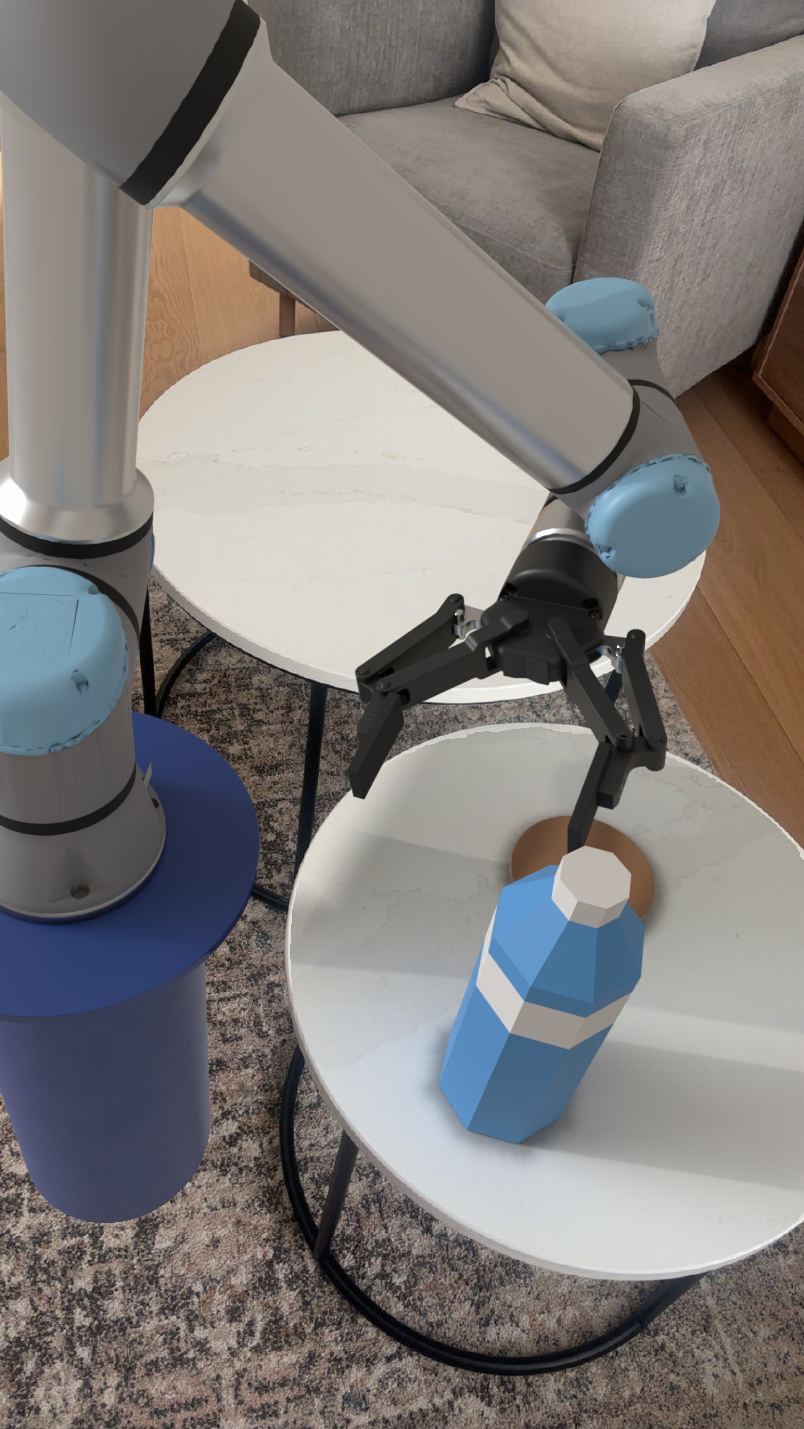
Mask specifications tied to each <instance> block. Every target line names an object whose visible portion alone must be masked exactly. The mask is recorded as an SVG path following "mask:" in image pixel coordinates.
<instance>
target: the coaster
mask: <svg viewBox="0 0 804 1429" xmlns="http://www.w3.org/2000/svg"><path fill="white" fill-rule="evenodd" d="M571 816H572V815H558V816H552V817H548V818H546V819H543V820H540V821H538V822H536V823H533V825H531V826H530V827H528V828H527V829H526V830H525V831H523V833H522V834H521V835H520V836H519V838H518V839H517V841H516V842H515V845H514V847H513V850H512V852H511V856H510V860H509V865H508V876H509V882H510V884H511V883H513V882H515V881H517V880H520V879H522V878H524V877H526V876H528V875H530V874H532V873H534V872H536V871H539V870H541V869H543V868H545V867H547V866H549V865H560V863H561V860H562V858H563V856H564V855H567V827H568V824H569V821H570V819H571ZM584 846H588V847H592V848H596V849H600V850H603V851H607V852H611V853H613V854H614V855H615V856H616V857H617V858H618V859H619V861H620V862H621V863H622V864H623V865H624V866H625V868H626V869H627V870H628V871H629V872H630V873H631V882H630V893H629V899H628V901H627V902H628V904H629V905H630V906H631V908H632V909H633V910H634V912H635V913H636V914H637V915H638V917H639V918H640V919H641V921H642V922H643V921H644V919H645V918H646V916H647V915H648V913H649V911H650V909H651V907H652V904H653V901H654V897H655V889H656V886H655V877H654V874H653V870H652V867H651V865H650V862H649V861H648V859H647V857H646V855H645V854H644V853H643V851H642V850H641V848H640V847H639V846H638V845H637V844H636V843H635V842H634V841H633V840H632V839H631V838H630V837H629V836H627V835H626V834H625V833H624V832H622V831H621V830H619V829H617V828H616V827H613V825H610V824H608V823H606V822H603V821H601V820H598V819H595V818H594V820H593V823H592V826H591V829H590V831H589V834H588V837H587V840H586V843H585V845H584Z"/></svg>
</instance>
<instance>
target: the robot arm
mask: <svg viewBox="0 0 804 1429" xmlns="http://www.w3.org/2000/svg"><path fill="white" fill-rule="evenodd" d="M0 157H1V158H0V161H1V194H2V195H1V196H2V198H1V199H2V201H1V202H2V230H3V231H2V232H3V233H2V234H3V235H2V236H3V239H2V240H3V265H4V266H3V269H4V270H3V271H4V272H3V275H4V310H5V312H4V313H5V347H6V349H5V350H6V353H5V354H6V382H7V383H6V385H7V386H6V388H7V390H6V391H7V422H8V423H7V424H8V425H7V426H8V456H6V457H5V458H3V459H2V460H0V912H2V913H4V914H6V915H8V916H10V917H13V918H15V919H18V920H22V921H25V922H30V923H35V924H44V925H63V924H72V923H78V922H83V921H87V920H91V919H94V918H97V917H100V916H102V915H105V914H107V913H109V912H111V911H114V910H116V909H117V908H119V907H121V906H123V905H124V904H126V903H127V902H128V901H130V900H131V899H133V898H134V897H135V896H136V895H137V894H139V893H140V892H141V891H142V890H143V889H144V888H145V887H146V885H147V884H148V883H149V882H150V881H151V879H152V878H153V876H154V875H155V873H156V872H157V870H158V868H159V866H160V864H161V861H162V859H163V856H164V852H165V847H166V824H165V816H164V812H163V809H162V806H161V803H160V801H159V798H158V796H157V794H156V792H155V791H154V789H153V788H152V786H151V785H150V784H149V780H150V778H151V775H152V769H151V762H150V765H149V768H148V770H147V773H146V776H145V775H144V774H143V772H142V771H141V769H140V768H139V766H138V765H137V763H136V758H135V746H134V736H133V725H132V711H133V710H132V709H133V708H132V703H133V702H132V701H133V700H132V699H133V687H134V680H135V679H134V678H135V672H136V666H137V659H138V651H139V644H140V639H141V632H142V631H141V630H142V624H143V617H144V609H145V604H146V597H147V592H148V583H149V577H150V574H151V573H152V569H153V564H154V560H155V553H156V537H155V534H154V524H153V523H154V522H153V521H154V512H155V511H154V510H155V495H154V493H155V492H154V489H153V486H152V484H151V482H150V480H149V479H148V477H147V476H146V475H145V473H144V472H142V470H141V469H139V468H138V467H137V452H138V438H139V422H140V408H141V394H142V381H143V366H144V351H145V339H146V338H145V337H146V322H147V311H148V310H147V309H148V294H149V279H150V266H151V265H150V264H151V263H150V262H151V252H152V251H151V250H152V238H153V236H152V235H153V220H154V210H158V209H159V210H160V209H166V208H173V207H174V208H175V207H176V208H178V209H182V210H184V211H185V212H186V213H188V215H190V216H191V217H193V218H194V219H195V220H196V221H197V222H199V223H200V224H202V225H203V226H204V227H205V228H207V229H208V230H209V231H211V232H212V233H213V234H214V235H216V236H217V237H219V238H220V239H221V240H223V241H224V242H225V243H226V244H228V245H229V246H230V247H232V248H233V249H234V250H236V251H237V252H238V253H239V254H241V255H242V256H243V257H245V258H246V259H247V260H249V261H250V262H251V263H252V264H254V265H255V266H256V267H258V269H260V270H261V271H263V272H264V273H265V274H267V275H268V276H269V277H271V278H272V279H273V280H275V281H276V282H277V283H278V284H280V285H281V286H282V287H284V288H285V290H288V291H289V292H290V293H292V294H293V295H294V296H295V297H296V298H298V299H299V300H300V301H302V302H303V303H305V304H306V306H308V307H310V308H311V309H312V310H313V311H315V312H316V313H317V314H318V315H320V316H321V317H322V318H324V319H325V320H327V321H328V322H329V323H330V324H331V325H333V326H334V327H335V328H337V329H338V330H340V331H341V332H342V333H344V334H345V335H346V336H347V337H348V338H350V339H351V340H353V341H354V342H356V344H357V345H359V346H360V347H361V348H363V349H364V350H365V351H367V352H368V353H369V354H371V355H372V356H373V357H375V358H376V359H377V360H378V361H380V362H381V363H382V364H384V365H385V366H386V367H387V368H389V369H390V370H391V371H393V372H394V373H395V374H396V375H397V376H399V377H400V378H402V379H403V380H404V381H406V382H407V383H408V384H410V385H411V386H412V387H413V388H415V389H416V390H417V391H418V392H420V393H421V394H422V395H424V396H425V397H426V398H427V399H429V400H430V401H432V402H433V403H434V404H435V405H437V406H438V407H439V408H441V409H442V410H443V411H445V412H446V413H447V414H449V416H451V417H452V418H453V419H455V420H457V421H458V422H459V423H460V424H462V425H463V426H464V427H465V428H467V429H468V430H469V431H471V432H472V433H473V434H474V435H476V436H477V437H478V438H479V439H481V440H482V441H484V442H485V443H486V444H487V445H489V446H490V447H492V448H493V449H494V450H495V451H497V452H498V453H499V454H500V455H502V456H503V457H504V458H506V459H507V460H508V461H510V462H511V463H512V464H513V465H515V466H516V467H517V468H519V469H520V470H521V471H523V473H525V474H526V475H527V476H529V477H530V478H531V479H533V480H534V481H535V482H537V483H538V484H539V485H541V486H542V487H543V488H544V489H545V490H547V491H549V493H548V494H547V497H546V499H545V501H544V503H543V505H542V508H541V509H540V511H539V513H538V515H537V518H536V519H535V521H534V524H533V525H532V527H531V529H530V531H529V533H528V534H527V536H526V538H525V540H524V542H523V544H522V546H521V548H520V551H519V554H518V555H517V557H516V558H515V560H514V563H513V565H512V567H511V569H510V570H509V573H508V574H507V577H506V579H505V580H504V583H503V585H502V587H501V589H500V591H499V593H498V596H497V599H496V601H495V602H494V603H493V604H491V605H490V606H488V607H487V608H485V609H480V608H478V607H474V606H470V605H467V604H466V603H465V597H464V595H462V594H461V593H457V592H456V593H452V594H449V595H448V596H447V597H446V598H445V600H444V601H443V602H442V604H441V605H440V606H439V608H438V610H437V611H436V612H435V613H434V614H432V615H431V616H429V617H428V618H426V619H425V620H423V621H422V622H420V623H419V624H417V625H415V627H414V628H412V629H410V630H409V631H407V632H406V633H404V634H403V635H402V636H401V637H399V638H397V639H396V640H394V641H393V642H391V643H390V644H389V645H387V646H386V647H384V648H383V649H381V650H380V651H379V652H377V653H376V654H374V655H373V656H372V657H370V658H369V659H367V660H366V661H365V662H363V663H361V664H360V665H359V666H357V667H356V668H355V670H354V675H355V680H356V684H357V690H358V695H359V699H360V701H361V702H363V703H365V704H367V706H366V708H365V710H364V711H363V714H362V715H361V716H360V719H359V721H358V722H357V724H356V736H357V738H358V739H357V740H358V744H359V746H358V748H357V749H356V752H355V754H354V756H353V757H352V759H351V761H350V762H349V764H348V767H347V768H346V772H347V775H348V776H347V777H348V780H349V785H350V789H351V793H352V797H353V798H357V799H359V800H360V799H361V800H365V799H366V797H367V796H368V794H369V792H370V790H371V789H372V787H373V784H374V782H375V781H376V778H377V776H378V774H379V773H380V771H381V769H382V767H383V765H384V763H385V761H386V759H387V757H388V756H389V754H390V752H391V750H392V748H393V746H394V744H395V742H396V740H397V738H398V736H399V734H400V733H401V731H402V729H403V728H404V725H405V717H404V711H406V710H408V709H411V708H413V707H415V706H417V705H419V704H421V703H424V702H425V701H428V700H430V699H433V698H435V697H437V696H439V695H440V694H443V693H446V692H447V691H450V690H451V689H454V688H456V687H458V686H460V685H463V684H465V683H466V682H469V681H471V680H473V679H477V680H485V679H487V678H489V677H491V676H493V675H496V674H498V673H500V672H502V676H503V677H506V678H507V677H508V678H512V679H527V680H529V681H531V682H534V683H536V684H539V685H544V686H548V687H549V686H550V683H557V682H559V683H560V684H559V685H561V687H562V689H563V690H564V692H565V694H566V695H567V698H568V699H569V700H570V701H573V702H574V704H575V706H576V707H577V709H578V710H579V712H580V714H581V715H582V717H583V719H584V721H585V722H586V725H587V726H588V728H589V729H590V730H591V733H592V734H593V736H594V738H595V739H596V741H597V742H598V744H597V747H596V749H595V751H594V755H593V757H592V760H591V763H590V766H589V768H588V771H587V773H586V776H585V779H584V781H583V784H582V787H581V790H580V793H579V794H578V798H577V800H576V802H575V806H574V807H573V808H574V809H573V811H572V813H571V815H570V816H571V819H570V821H569V824H568V827H567V854H569V853H571V852H573V851H575V850H577V849H579V848H581V847H583V846H584V845H585V843H586V840H587V837H588V834H589V831H590V829H591V826H592V823H593V820H594V819H595V817H596V814H597V812H598V809H599V808H604V809H607V810H611V811H613V810H615V808H616V807H617V806H618V805H619V804H620V800H621V799H622V795H623V792H624V788H625V786H626V783H627V780H628V778H629V774H630V773H631V771H632V770H635V769H637V768H645V769H647V770H648V771H650V772H660V771H662V770H663V769H664V768H665V766H666V758H667V748H668V735H667V731H666V728H665V725H664V722H663V718H662V715H661V712H660V708H659V705H658V702H657V699H656V695H655V692H654V688H653V685H652V682H651V679H650V676H649V672H648V670H647V665H646V663H645V654H646V653H645V652H646V642H647V641H646V639H647V634H646V632H645V631H644V630H642V629H640V628H631V629H630V630H629V631H627V632H626V637H624V636H616V635H607V634H605V630H606V628H607V625H608V623H609V620H610V618H611V615H612V613H613V610H614V608H615V606H616V603H617V599H618V595H619V593H620V592H621V589H622V588H623V585H624V583H625V580H626V578H627V577H628V578H634V579H641V580H643V579H644V580H645V579H655V578H660V577H664V576H668V575H671V574H674V573H676V572H679V571H681V570H682V569H684V568H685V567H687V566H689V565H690V564H691V563H693V562H694V561H696V559H697V558H698V557H700V556H701V555H702V554H703V553H704V552H705V551H706V550H707V549H708V548H709V547H710V545H711V543H712V542H713V540H714V539H715V537H716V535H717V532H718V530H719V526H720V522H721V505H720V500H719V498H718V494H717V490H716V488H715V485H714V477H713V474H712V472H711V468H710V466H709V465H708V463H707V462H705V459H704V458H703V456H702V454H701V452H700V449H699V448H698V445H697V443H696V441H695V440H694V437H693V435H692V433H691V430H690V429H689V426H688V425H687V422H686V421H685V419H684V416H683V414H682V412H681V410H680V408H679V405H678V403H677V400H676V398H675V396H674V393H673V392H672V389H671V387H670V385H669V382H668V380H667V378H666V375H665V373H664V371H663V368H662V367H661V364H660V362H659V357H658V347H657V345H658V337H659V336H660V328H659V327H658V326H657V314H656V302H655V298H654V297H653V294H652V293H651V292H650V290H649V289H648V288H646V287H645V286H644V285H643V284H641V283H639V282H636V281H635V280H630V279H626V278H621V277H608V276H607V277H595V278H590V279H586V280H585V279H584V280H580V281H578V282H575V283H572V284H569V285H567V286H566V287H563V288H561V289H560V290H558V291H557V292H556V293H554V294H553V295H552V296H551V297H550V298H549V299H548V300H547V301H546V303H545V305H544V303H542V302H541V301H540V300H539V299H538V298H537V297H536V296H535V295H533V293H531V292H530V291H529V290H528V289H527V288H526V287H525V286H524V285H523V284H521V283H520V282H519V281H518V280H517V279H516V278H514V277H513V275H511V274H510V272H508V271H507V270H506V269H504V268H503V267H502V265H500V264H499V263H498V262H497V261H496V260H495V259H494V258H492V257H491V256H490V255H489V254H488V253H487V252H485V250H484V249H483V248H481V247H480V246H479V245H478V244H477V243H476V242H474V240H472V239H471V238H470V237H469V236H468V235H467V234H466V233H464V232H463V230H461V229H460V228H459V227H458V226H457V225H456V224H455V223H453V222H452V220H450V219H449V218H448V217H447V216H445V214H443V213H442V211H440V210H439V209H438V208H437V207H436V206H435V205H433V204H432V202H430V201H429V200H428V199H427V198H425V197H424V196H423V195H422V193H420V192H419V191H418V190H417V189H416V188H414V187H413V185H411V184H410V183H409V182H408V181H407V180H406V179H405V178H403V176H401V175H400V174H399V173H398V172H397V171H396V170H395V169H394V168H393V167H391V166H390V165H389V164H388V163H387V162H386V161H385V160H384V159H382V158H381V157H380V156H379V155H378V154H377V153H376V152H375V151H373V150H372V148H370V147H369V145H367V144H366V143H365V142H364V141H362V140H361V139H360V137H358V136H357V135H356V134H355V133H354V132H353V131H351V130H350V129H349V128H348V127H347V126H346V125H345V124H344V123H342V121H340V120H339V119H338V118H337V117H336V116H335V115H333V113H331V111H329V110H328V109H327V108H326V107H325V106H323V105H322V103H321V102H319V101H318V100H317V99H316V98H314V96H313V95H311V93H309V91H307V90H306V89H305V88H304V87H303V86H301V85H300V84H299V83H298V82H297V81H296V80H295V79H294V78H293V77H291V76H290V75H289V73H287V72H286V71H285V70H284V69H283V68H282V67H280V65H278V64H277V63H276V62H275V61H274V59H273V56H272V51H271V47H270V40H269V33H268V27H267V22H266V20H264V19H263V18H262V17H261V16H260V14H258V13H257V12H256V11H255V10H254V9H253V8H252V7H251V6H250V5H249V4H247V3H246V1H244V0H0ZM457 640H459V641H461V642H459V643H457V644H455V643H456V641H457ZM462 640H463V641H462ZM454 644H455V645H454ZM487 650H488V654H489V655H488V656H487V652H486V651H487ZM603 656H604V657H606V658H608V659H609V660H610V664H611V666H612V668H614V669H615V673H617V674H621V684H622V689H623V693H624V696H625V700H626V704H627V707H628V711H629V714H630V717H631V721H632V725H633V727H632V730H630V728H629V726H628V724H627V723H626V722H625V719H624V718H623V717H622V716H621V714H620V712H619V710H618V709H617V707H616V706H615V704H614V702H613V701H612V699H611V698H610V696H609V695H608V693H607V691H606V690H605V688H604V687H603V685H602V683H601V682H600V680H599V678H598V677H597V676H596V674H595V672H594V671H593V669H592V668H591V665H592V664H593V663H595V662H597V661H598V660H600V659H601V658H602V657H603Z"/></svg>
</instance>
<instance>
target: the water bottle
mask: <svg viewBox="0 0 804 1429" xmlns="http://www.w3.org/2000/svg"><path fill="white" fill-rule="evenodd" d="M630 882H631V873H630V872H629V871H628V870H627V869H626V868H625V866H624V865H623V864H622V863H621V862H620V861H619V859H618V858H617V857H616V856H615V855H614V854H613V853H611V852H607V851H603V850H600V849H596V848H592V847H588V846H583V847H581V848H579V849H577V850H575V851H573V852H571V853H569V854H567V855H564V856H563V858H562V860H561V863H560V865H549V866H547V867H545V868H543V869H541V870H539V871H536V872H534V873H532V874H530V875H528V876H526V877H524V878H522V879H520V880H517V881H515V882H513V883H511V882H510V883H509V884H506V885H504V886H503V887H502V890H501V892H500V894H499V895H500V896H499V898H498V900H497V903H496V907H495V909H494V911H493V915H492V917H491V920H490V922H489V926H488V929H487V931H486V934H485V937H484V939H483V942H482V945H481V947H480V951H479V954H478V956H477V959H476V962H475V964H474V967H473V970H472V973H471V976H470V977H469V980H468V983H467V987H466V989H465V992H464V994H463V998H462V1001H461V1003H460V1005H459V1009H458V1011H457V1014H456V1017H455V1020H454V1022H453V1024H452V1027H451V1031H450V1034H449V1036H448V1039H447V1043H446V1048H445V1052H444V1057H443V1062H442V1067H441V1072H440V1075H439V1081H438V1088H439V1090H440V1091H441V1092H442V1094H443V1095H444V1097H445V1098H446V1100H447V1101H448V1103H449V1105H450V1106H451V1108H452V1109H453V1111H454V1112H455V1115H456V1116H457V1117H458V1119H459V1121H460V1122H461V1123H462V1125H463V1126H464V1128H465V1129H466V1130H467V1131H470V1132H474V1133H477V1134H480V1135H484V1136H487V1137H491V1138H494V1139H498V1140H501V1141H504V1142H509V1143H511V1144H516V1145H519V1144H521V1143H522V1142H524V1141H525V1140H527V1139H529V1138H530V1137H532V1136H533V1135H535V1134H537V1133H538V1132H540V1131H541V1130H543V1129H545V1128H547V1127H548V1126H550V1125H552V1124H553V1123H555V1122H556V1121H558V1120H559V1119H560V1117H561V1116H562V1114H563V1112H564V1110H565V1108H566V1107H567V1105H568V1103H569V1101H570V1100H571V1098H572V1096H573V1094H574V1093H575V1091H576V1089H577V1088H578V1086H579V1084H580V1083H581V1081H582V1079H583V1078H584V1076H585V1074H586V1072H587V1070H588V1069H589V1068H590V1065H591V1064H592V1062H593V1060H594V1059H595V1057H596V1056H597V1053H598V1052H599V1050H600V1048H601V1046H602V1045H603V1043H604V1041H605V1040H606V1038H607V1036H608V1035H609V1033H610V1031H611V1030H612V1028H613V1026H614V1024H615V1022H616V1021H617V1019H618V1018H619V1016H620V1014H621V1012H622V1011H623V1009H624V1007H625V1005H626V1004H627V1002H628V1000H629V998H630V997H631V995H632V993H633V992H634V990H635V988H636V986H637V985H638V984H639V982H640V979H641V978H642V968H643V956H644V946H645V945H644V942H645V930H646V929H645V928H646V925H645V924H644V922H643V921H641V919H640V918H639V917H638V915H637V914H636V913H635V912H634V910H633V909H632V908H631V906H630V905H629V904H628V902H627V901H628V899H629V893H630Z"/></svg>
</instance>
